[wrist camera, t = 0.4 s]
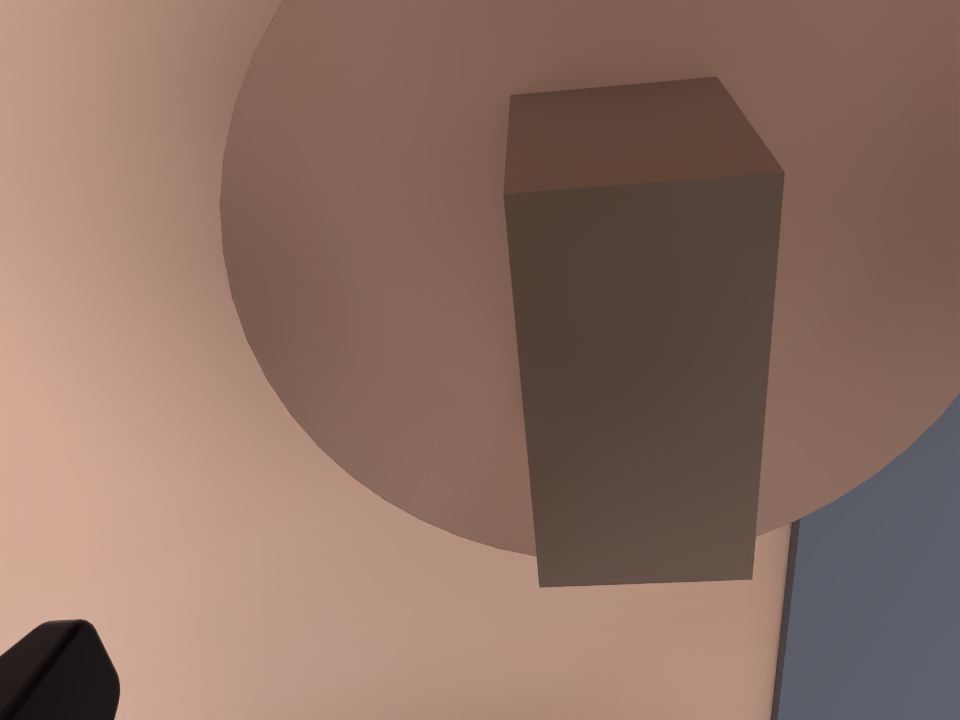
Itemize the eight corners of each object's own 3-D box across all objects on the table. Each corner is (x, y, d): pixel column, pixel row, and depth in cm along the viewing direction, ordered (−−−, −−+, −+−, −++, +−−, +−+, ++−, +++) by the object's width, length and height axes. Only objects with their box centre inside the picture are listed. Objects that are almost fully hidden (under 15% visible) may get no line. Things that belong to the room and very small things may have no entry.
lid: (940, 513, 18) (1065, 729, 14) (318, 540, 19) (259, 745, 15) (1110, -256, 11) (1455, -297, 7) (139, -140, 13) (-59, -116, 8)
